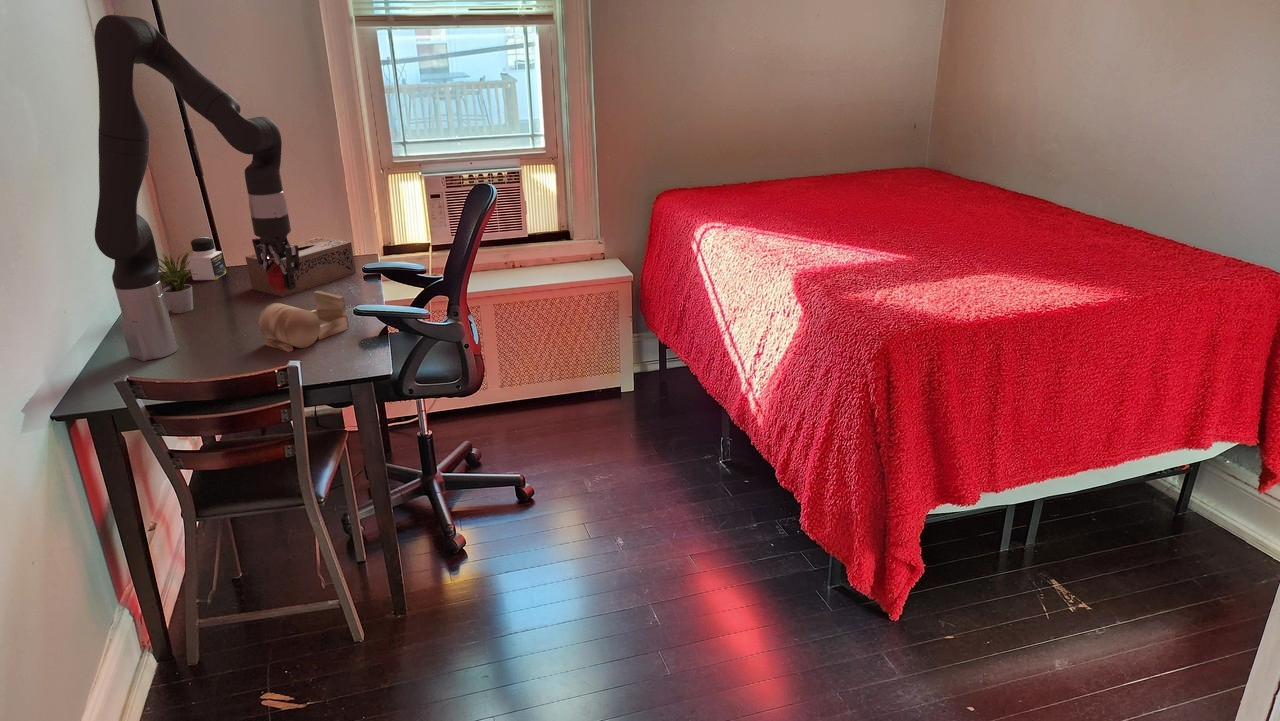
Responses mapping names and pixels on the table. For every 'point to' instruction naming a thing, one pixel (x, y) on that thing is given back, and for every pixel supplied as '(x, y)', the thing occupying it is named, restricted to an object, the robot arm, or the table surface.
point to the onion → (276, 278)
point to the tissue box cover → (309, 265)
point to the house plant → (177, 284)
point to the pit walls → (330, 313)
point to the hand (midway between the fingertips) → (282, 286)
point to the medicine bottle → (206, 260)
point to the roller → (288, 326)
